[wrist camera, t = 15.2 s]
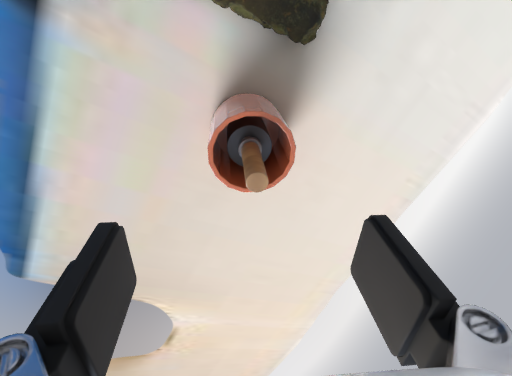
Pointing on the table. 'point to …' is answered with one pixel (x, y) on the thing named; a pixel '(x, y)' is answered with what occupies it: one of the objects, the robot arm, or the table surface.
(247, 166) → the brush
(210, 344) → the table surface
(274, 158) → the tumbler
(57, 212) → the table surface
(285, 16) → the stone
